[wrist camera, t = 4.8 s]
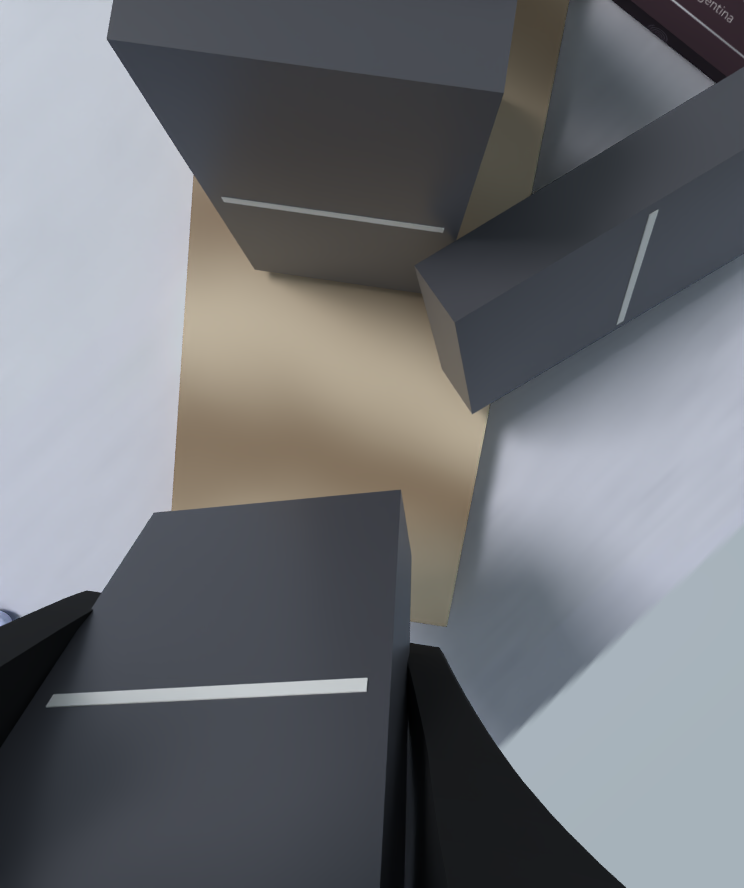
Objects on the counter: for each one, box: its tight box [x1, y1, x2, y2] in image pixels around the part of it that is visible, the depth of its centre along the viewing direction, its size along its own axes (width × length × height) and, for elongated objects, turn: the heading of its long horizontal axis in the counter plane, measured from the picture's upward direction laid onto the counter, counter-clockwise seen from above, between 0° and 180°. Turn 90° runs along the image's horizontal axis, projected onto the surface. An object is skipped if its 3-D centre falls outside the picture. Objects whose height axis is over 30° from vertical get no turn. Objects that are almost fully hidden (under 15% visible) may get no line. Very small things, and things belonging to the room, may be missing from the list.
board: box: [172, 0, 569, 627], centre depth 17 cm, size 21×9×1 cm, turn 172°
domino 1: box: [107, 0, 517, 294], centre depth 12 cm, size 2×5×9 cm, turn 82°
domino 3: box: [414, 67, 744, 414], centre depth 15 cm, size 2×5×9 cm
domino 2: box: [0, 490, 412, 888], centre depth 9 cm, size 2×5×9 cm, turn 98°
